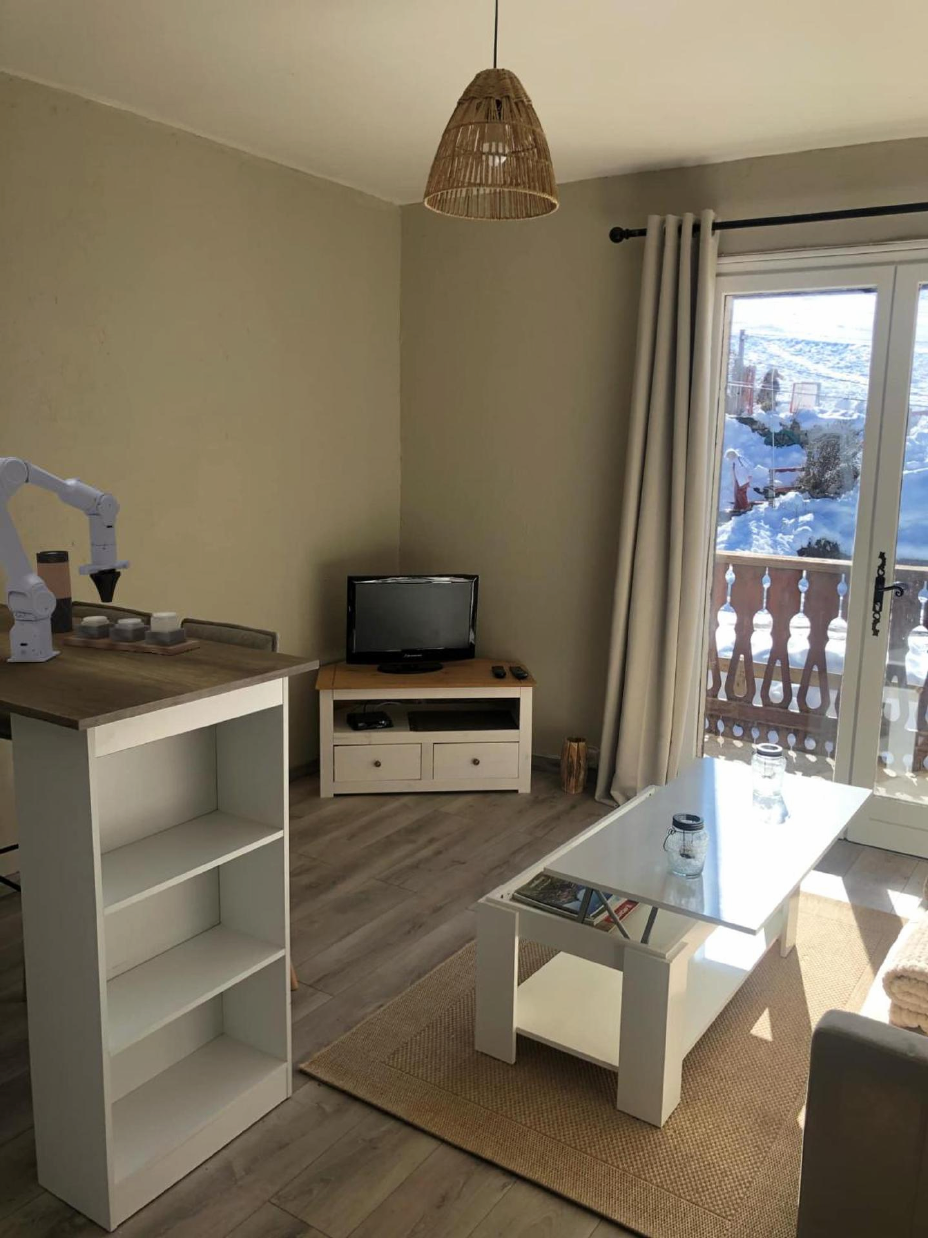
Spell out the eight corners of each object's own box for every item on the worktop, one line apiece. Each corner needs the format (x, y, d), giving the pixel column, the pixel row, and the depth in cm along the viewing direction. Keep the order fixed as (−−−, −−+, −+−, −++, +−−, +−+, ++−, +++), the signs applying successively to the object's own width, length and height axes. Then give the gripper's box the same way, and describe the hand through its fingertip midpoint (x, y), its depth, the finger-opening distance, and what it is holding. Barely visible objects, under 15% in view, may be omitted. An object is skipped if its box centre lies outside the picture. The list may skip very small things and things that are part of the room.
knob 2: (146, 637, 238) (145, 619, 237) (131, 641, 233) (130, 622, 232) (129, 635, 240) (128, 617, 239) (113, 639, 235) (112, 621, 235)
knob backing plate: (199, 647, 235) (199, 628, 234) (171, 655, 226) (170, 635, 225) (94, 637, 248) (93, 619, 247) (63, 644, 239) (61, 625, 238)
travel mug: (79, 630, 257) (74, 551, 254) (49, 634, 252) (44, 554, 249) (65, 626, 263) (60, 549, 259) (36, 630, 257) (30, 552, 254)
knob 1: (112, 634, 242) (111, 617, 241) (96, 638, 237) (95, 620, 237) (95, 633, 244) (94, 615, 244) (79, 636, 240) (78, 618, 239)
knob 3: (182, 631, 233) (181, 612, 233) (167, 635, 229) (166, 616, 228) (164, 629, 235) (163, 611, 235) (148, 633, 231) (147, 614, 230)
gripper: (93, 547, 228) (97, 607, 230) (138, 542, 241) (141, 598, 243) (69, 546, 230) (73, 605, 233) (115, 541, 243) (118, 597, 246)
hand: (106, 602), depth 238 cm, fingers closed
